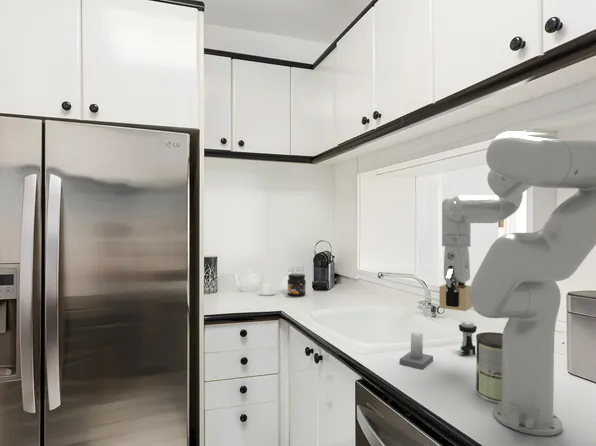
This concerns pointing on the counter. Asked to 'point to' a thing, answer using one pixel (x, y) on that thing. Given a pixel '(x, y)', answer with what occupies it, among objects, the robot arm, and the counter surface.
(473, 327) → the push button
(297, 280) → the supplement container
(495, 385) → the coffee can
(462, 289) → the collar
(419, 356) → the piston block
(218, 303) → the counter surface
